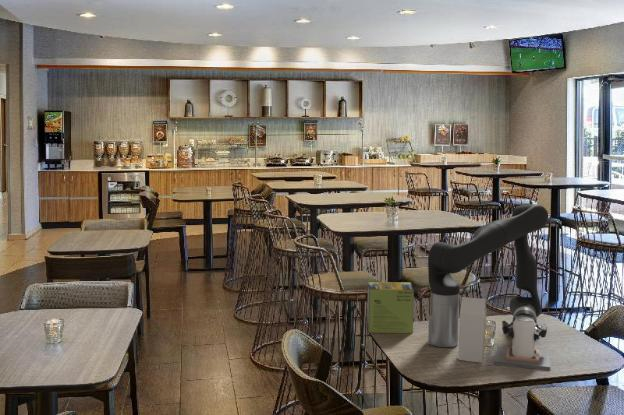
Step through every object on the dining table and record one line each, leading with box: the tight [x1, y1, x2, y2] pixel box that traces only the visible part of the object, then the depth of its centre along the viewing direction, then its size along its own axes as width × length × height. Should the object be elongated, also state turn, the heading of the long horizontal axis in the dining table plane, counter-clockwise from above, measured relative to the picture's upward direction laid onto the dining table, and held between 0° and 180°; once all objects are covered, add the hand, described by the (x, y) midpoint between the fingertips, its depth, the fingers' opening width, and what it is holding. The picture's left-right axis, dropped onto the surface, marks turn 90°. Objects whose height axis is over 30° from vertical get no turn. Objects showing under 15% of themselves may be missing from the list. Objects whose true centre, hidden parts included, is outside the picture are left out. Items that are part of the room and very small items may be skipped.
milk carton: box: [457, 296, 487, 364], centre depth 213 cm, size 7×7×19 cm
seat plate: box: [493, 344, 551, 371], centre depth 214 cm, size 16×15×2 cm
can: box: [511, 316, 536, 358], centre depth 213 cm, size 6×6×12 cm
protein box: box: [366, 281, 415, 334], centre depth 242 cm, size 10×15×16 cm
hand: (523, 336), depth 211 cm, fingers closed on can, 6 cm apart
